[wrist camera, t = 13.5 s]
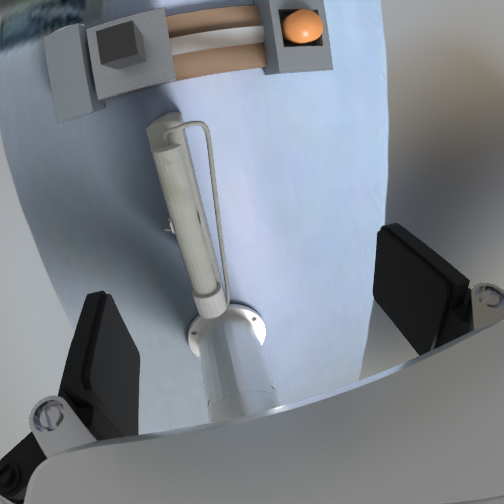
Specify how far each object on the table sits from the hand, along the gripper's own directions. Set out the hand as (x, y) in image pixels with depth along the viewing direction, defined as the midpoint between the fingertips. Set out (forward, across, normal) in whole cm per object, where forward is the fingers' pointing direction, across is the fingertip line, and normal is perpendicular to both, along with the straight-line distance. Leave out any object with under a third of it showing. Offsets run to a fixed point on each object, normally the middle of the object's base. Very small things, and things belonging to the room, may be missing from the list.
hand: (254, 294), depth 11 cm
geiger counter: (+31, +2, +8) cm, 32 cm away
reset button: (+27, -12, -12) cm, 32 cm away
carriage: (+27, +5, -12) cm, 30 cm away
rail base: (+30, -1, -12) cm, 33 cm away
